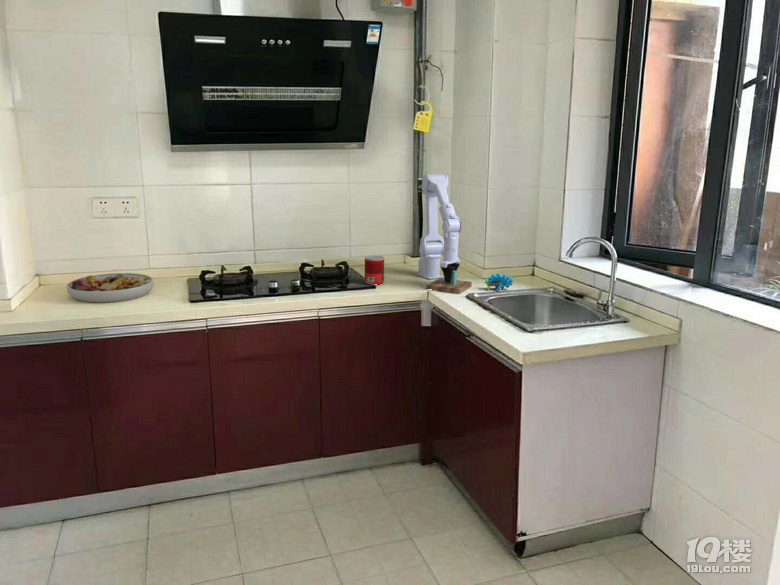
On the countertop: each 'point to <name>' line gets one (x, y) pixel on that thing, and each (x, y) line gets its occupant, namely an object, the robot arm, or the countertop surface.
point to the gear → (499, 281)
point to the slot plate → (449, 286)
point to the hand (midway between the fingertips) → (449, 281)
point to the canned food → (374, 269)
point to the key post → (453, 279)
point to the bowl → (110, 287)
